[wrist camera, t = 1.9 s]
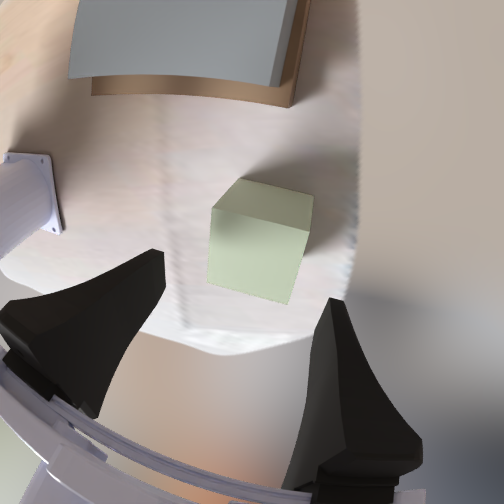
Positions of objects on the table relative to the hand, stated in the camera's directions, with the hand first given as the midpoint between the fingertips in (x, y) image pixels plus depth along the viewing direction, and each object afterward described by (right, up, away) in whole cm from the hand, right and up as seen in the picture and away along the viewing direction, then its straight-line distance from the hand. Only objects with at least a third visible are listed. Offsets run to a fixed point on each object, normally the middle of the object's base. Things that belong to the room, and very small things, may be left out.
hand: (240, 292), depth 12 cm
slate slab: (-3, +14, -2) cm, 14 cm away
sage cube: (+2, +4, +6) cm, 7 cm away
